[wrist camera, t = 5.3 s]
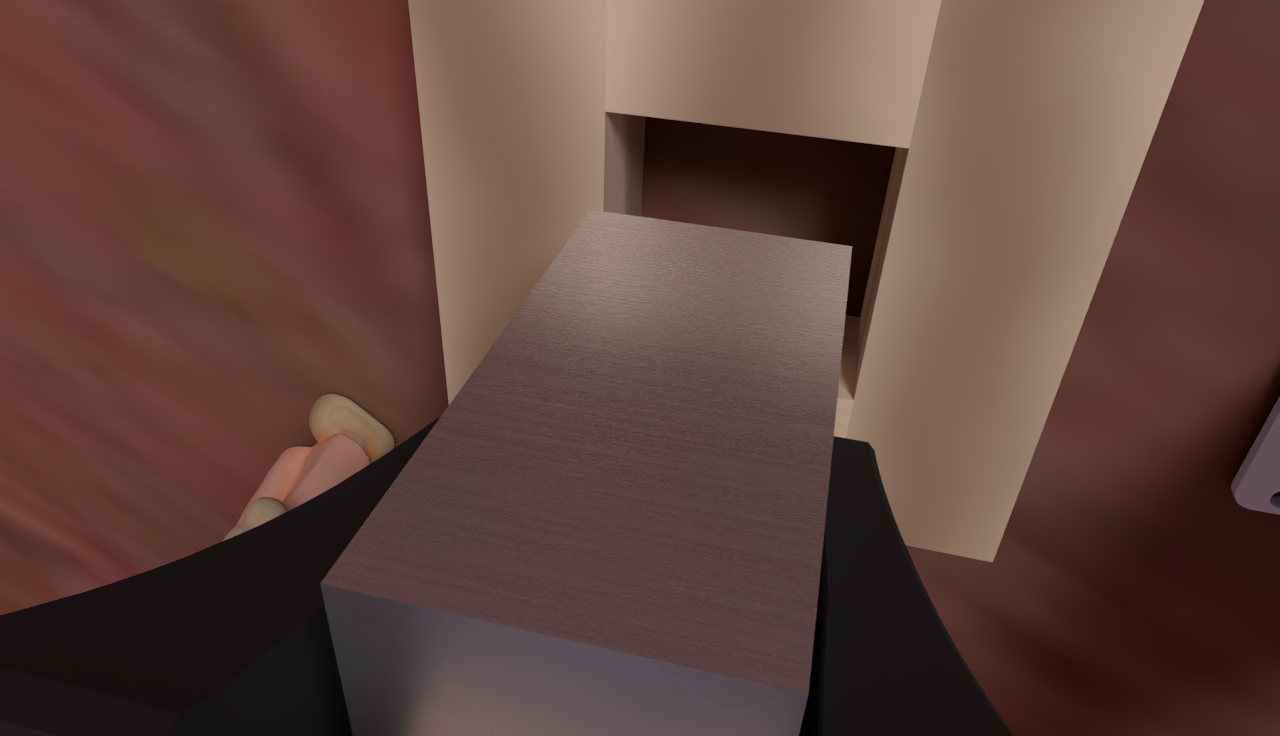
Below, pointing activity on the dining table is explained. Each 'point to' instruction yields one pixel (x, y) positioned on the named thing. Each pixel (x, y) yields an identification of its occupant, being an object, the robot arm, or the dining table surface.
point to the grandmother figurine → (318, 460)
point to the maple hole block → (834, 109)
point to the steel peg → (613, 503)
